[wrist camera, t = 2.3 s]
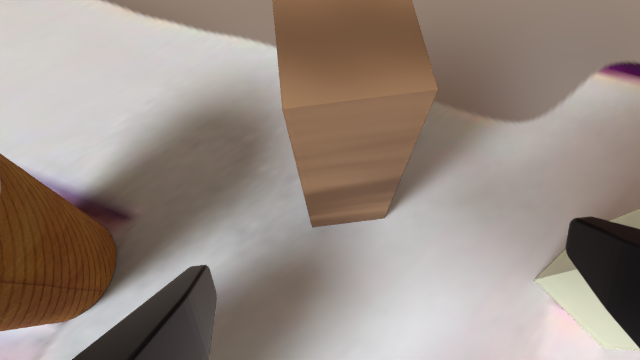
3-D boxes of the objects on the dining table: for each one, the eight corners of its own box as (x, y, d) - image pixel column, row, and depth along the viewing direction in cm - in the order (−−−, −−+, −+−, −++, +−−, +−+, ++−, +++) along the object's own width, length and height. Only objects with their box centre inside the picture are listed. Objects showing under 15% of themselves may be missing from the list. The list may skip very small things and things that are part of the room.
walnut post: (384, 218, 22) (438, 89, 10) (312, 227, 22) (282, 109, 10) (371, 153, 24) (405, -21, 12) (304, 161, 24) (272, -5, 12)
